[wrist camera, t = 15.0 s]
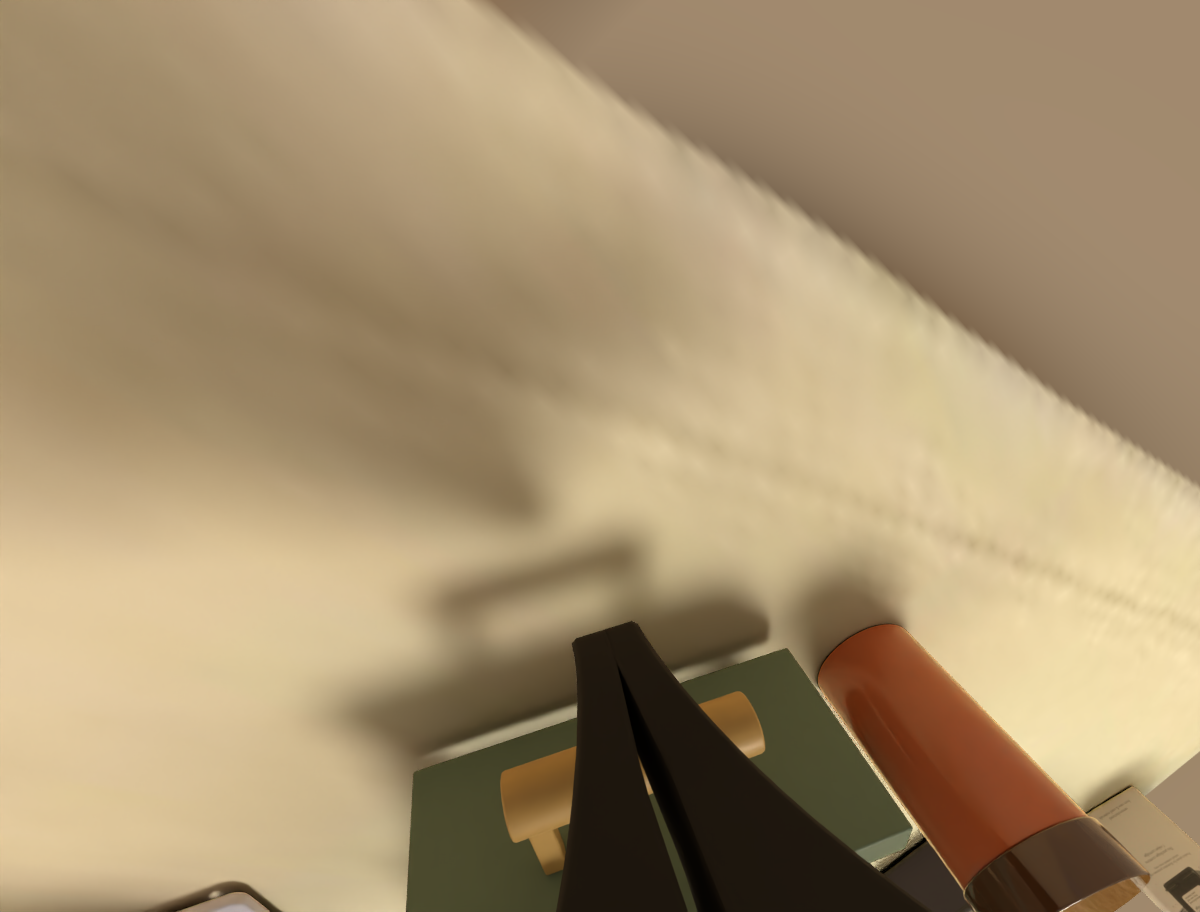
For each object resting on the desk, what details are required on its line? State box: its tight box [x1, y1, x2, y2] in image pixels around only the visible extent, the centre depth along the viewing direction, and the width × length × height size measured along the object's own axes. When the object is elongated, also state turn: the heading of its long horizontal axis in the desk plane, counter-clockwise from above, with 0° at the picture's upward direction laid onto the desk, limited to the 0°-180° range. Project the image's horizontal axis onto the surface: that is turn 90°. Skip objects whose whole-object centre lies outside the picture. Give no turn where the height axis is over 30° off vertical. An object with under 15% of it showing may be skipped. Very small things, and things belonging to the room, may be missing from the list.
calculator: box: [884, 841, 973, 912], centre depth 36 cm, size 11×4×15 cm
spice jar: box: [818, 624, 1151, 912], centre depth 17 cm, size 4×4×8 cm
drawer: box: [406, 648, 913, 912], centre depth 16 cm, size 15×13×6 cm
